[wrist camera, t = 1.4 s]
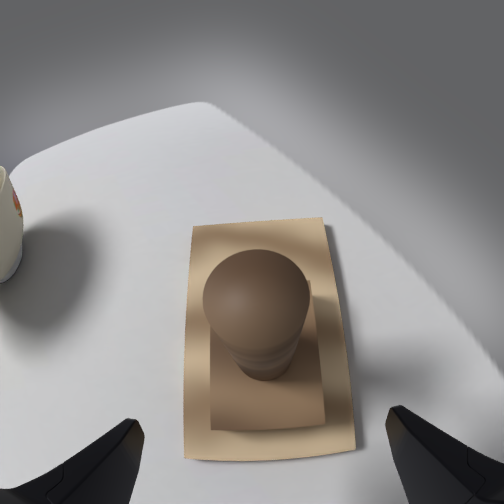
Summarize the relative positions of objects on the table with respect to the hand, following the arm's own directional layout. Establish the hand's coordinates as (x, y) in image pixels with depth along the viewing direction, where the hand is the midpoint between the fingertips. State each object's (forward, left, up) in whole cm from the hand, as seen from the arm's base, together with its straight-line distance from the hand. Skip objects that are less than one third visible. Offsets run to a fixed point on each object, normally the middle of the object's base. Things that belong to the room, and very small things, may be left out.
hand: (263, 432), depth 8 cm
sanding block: (+4, -3, -11) cm, 12 cm away
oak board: (+6, -4, -12) cm, 14 cm away
